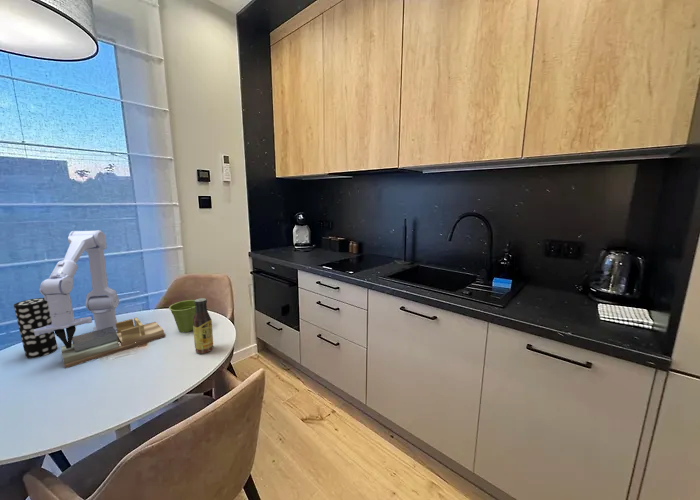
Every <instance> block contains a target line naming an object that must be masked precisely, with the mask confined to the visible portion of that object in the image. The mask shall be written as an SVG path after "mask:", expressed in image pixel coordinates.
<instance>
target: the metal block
mask: <svg viewBox="0 0 700 500" xmlns="http://www.w3.org/2000/svg"><path fill="white" fill-rule="evenodd" d="M116 340H118V338H117V330H115V329H114V328H113V326H112V327H108V328H104V329H100V330H97V331H95V330H93V331H90V332H86V333H82V334H78V335H73V338H72V343H73V346H74V350H75V352H77V351H81V350H84V349H88V348H91V347H95V346H98V345H102V344H105V343H109V342H112V341H116Z"/></svg>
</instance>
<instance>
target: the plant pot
mask: <svg viewBox="0 0 700 500" xmlns="http://www.w3.org/2000/svg"><path fill="white" fill-rule="evenodd" d="M195 300H196V299H190V300H189V299H188V300H182V301H181V300H180V301H178V302H175V303H172V304H171V305H170V306H169V307H168V310H169V311H171V312H170V313H171V314H172V316H173V318H174V321H175V325H176V327H177V329H178V331H179V333H189V332H191V331H194V330H193V317H194V315H195V313H196V307H195V303H194V301H195Z"/></svg>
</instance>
